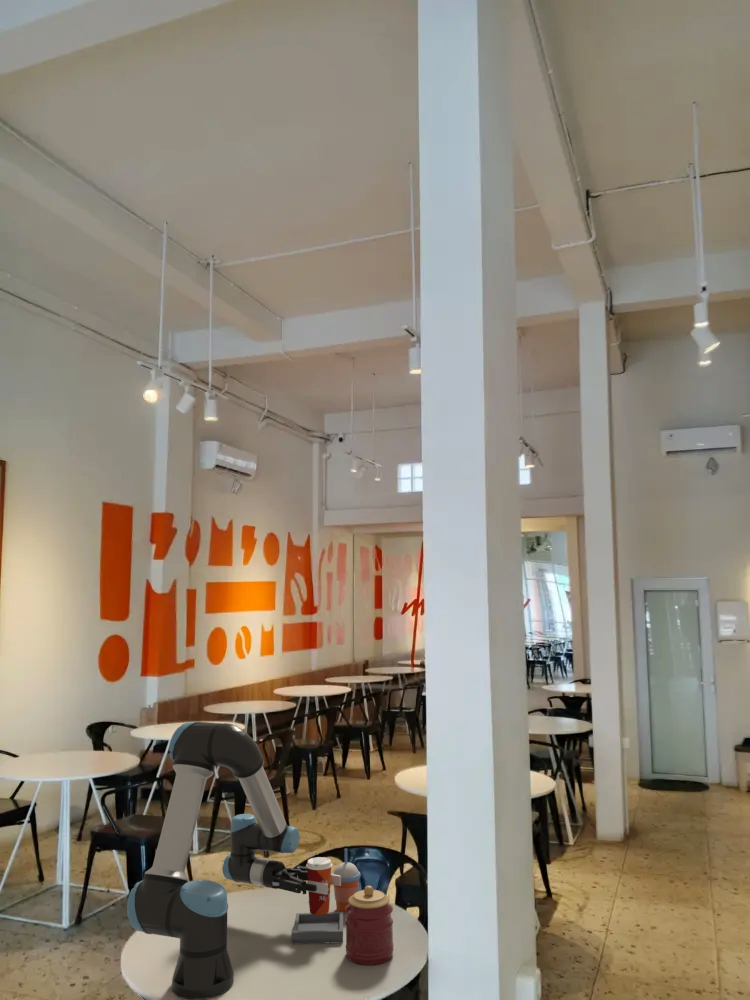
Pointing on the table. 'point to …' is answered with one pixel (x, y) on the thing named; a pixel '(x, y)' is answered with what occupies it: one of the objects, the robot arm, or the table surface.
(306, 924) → the tray
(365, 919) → the canister
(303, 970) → the table surface
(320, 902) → the paper cup
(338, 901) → the cup with straw
